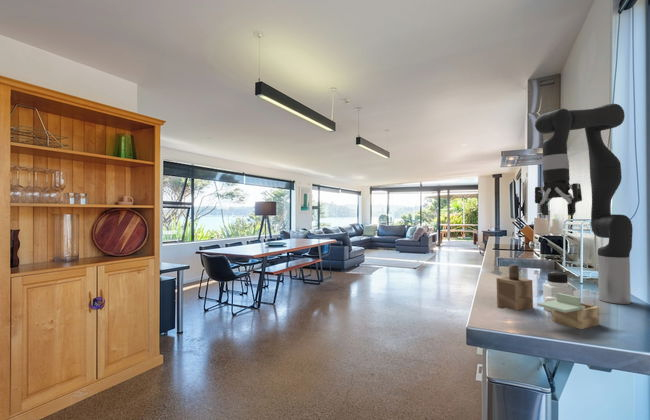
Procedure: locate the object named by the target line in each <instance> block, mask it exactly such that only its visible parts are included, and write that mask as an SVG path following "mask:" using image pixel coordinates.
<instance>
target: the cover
mask: <svg viewBox="0 0 650 420" xmlns="http://www.w3.org/2000/svg"><path fill="white" fill-rule="evenodd" d="M519 269H520V267H519V265H518V264H509V265H508V274H509V275H508V276H504V277H496V307H497V308H499V309H500V308H501V309H505V308H507V309H511V310H514V311H523V310H528V309H532V308H534V298H533V297H534V294H533V289H534V287H533V280H532V279H529V278H523V277H520V274H519V273H520V272H519Z"/></svg>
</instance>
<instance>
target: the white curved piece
mask: <svg viewBox="0 0 650 420" xmlns="http://www.w3.org/2000/svg"><path fill="white" fill-rule="evenodd" d="M553 300H557V298H556V297H552V296H545V301H543V302H547V301H553ZM543 311H544V312H548V313H552V309H549V308H545V307H543Z"/></svg>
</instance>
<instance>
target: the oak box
mask: <svg viewBox="0 0 650 420" xmlns="http://www.w3.org/2000/svg"><path fill="white" fill-rule="evenodd" d="M581 305H582V306H585V309H581V310H577V311H572V312H567V313H564V312H561V311H557V310H553V309H552V312H551V317H552V318H551V320H552V322H554V323H558V324H562V325H564V326H569V327H572V328H576V329H579V330H584V329H588V328H591V327H595V326H600V307H599V306H595V305H593V304H592V305H591V304H589V303H588V304H586V303H583V302H581Z"/></svg>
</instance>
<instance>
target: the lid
mask: <svg viewBox="0 0 650 420" xmlns="http://www.w3.org/2000/svg"><path fill="white" fill-rule="evenodd" d="M556 297H557V300H553V301H547V302H544V301H542V302H537V304H536V306H538V307H540V308H544V307H545V308H549V309H553V310H557V311H561V312H564V313H567V312H572V311H577V310H581V309H585V306H582V305H581V303H582V302H581V300H582V299H581V296H577V295H576V296H575V295H573V296H571V295H566V294H562V293H556Z"/></svg>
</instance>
